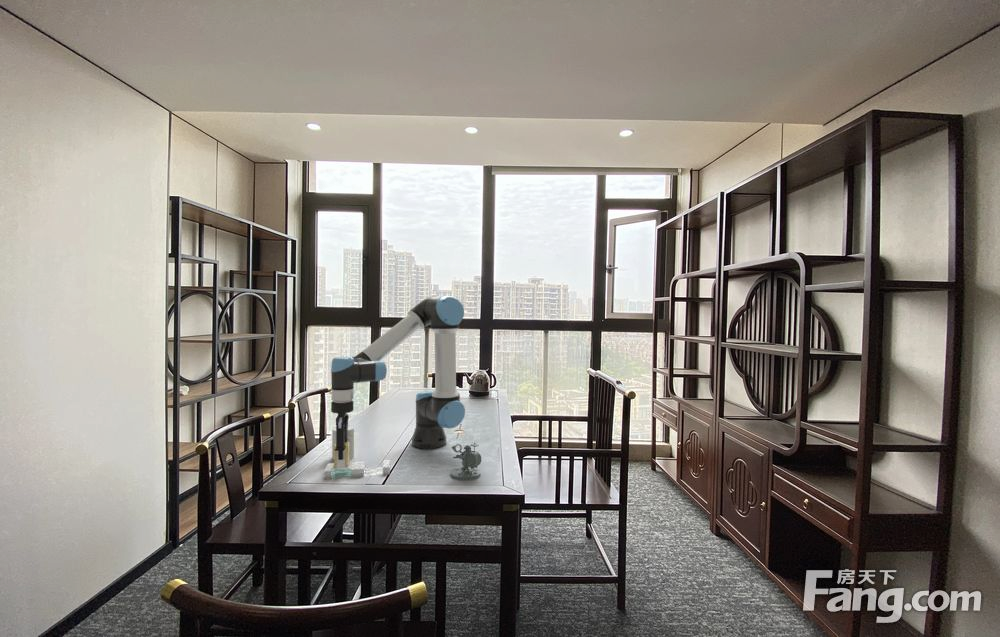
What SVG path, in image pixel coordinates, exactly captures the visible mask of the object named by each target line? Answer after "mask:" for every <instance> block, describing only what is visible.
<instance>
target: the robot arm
mask: <svg viewBox="0 0 1000 637" xmlns="http://www.w3.org/2000/svg"><path fill="white" fill-rule="evenodd" d="M464 318H465V309H464V304H463V303H462V302H461V300H459V299H458V298H457V297H454V296H451V295H438V296H437V295H433V296H432V295H431V296H429V297H426V298H424V299H423V300H422V301H420V302H419V303H417V304H416V305H415V306H414V307H412V308H411V309H410V310H408V312H407V315H406V316H405V317H404V318H402V319H401V320H400V321H399V322H398V323H396V324H395V325H393V326H392V327H390V329H388V330H387V331H386V332H385V333H384V334H382V335H381V336H379V337H378V338H377V339H375V340H374V341H373V342H372V343H371V344H370V345H368V346H367V347H366V348H365V349H363V350H362V351H361V352H359V353H358V354H357V355H355V356H336V357H334V358H333V359H332V360H331V367H330V368H331V369H330V376H331V383H330V384H331V391H329V395H331V402H330V412H331V413H332V414H337V416H336V418H335V427H336V449H335V451H337V469H346V468H345V442H347V441H348V426H349V413H353V411H354V399H355V398H354V394H355V392H354V391H355V389H354V387H355V384H358V383H369V382H370V383H371V382H378V381H379V382H380V381H384V380H385V379H386V377H387V365H386V363H385V361H383V359H384V358H385V357H387V356H388V355H389V354H390V353H392V352H393V351H394V350H395V349H397V348H398V347H399V346H400V345H401V344H403V343H404V342H405V341H406V340H407V339H409V338H410V337H411V336H413V335H414V334H415V333H416V332H417V331H419V330H424V329H425V328H426V327H428V326H429V325H430V330H431V331H432V332H433V333H434V373H435V374H434V378H435V379H434V380H435V382H434V384H435V385H434V386H435V387H434V388H435V390H429V391H427V390H426V391H420V392H418V393H417V394H416V397H415V429H414V432H413V435H412V437H411V446H413V447H414V448H418V449H425V450H426V449H429V450H430V449H436V448H437V449H438V448H441V447H444V446H445V445H447V435H446V433H445V428H446V429H455V428H457V427H458V426H459V425H461V423H462V422H463V420H464V419H465V416H466V407H465V405H464V404H463V403H462V402H461V396H460V395H461V394H460V392H459V391H458V390H457V359H456V357H457V356H456V355H457V346H456V345H457V344H456V343H457V342H456V340H457V339H456V336H457V332H458V331H459V329H460V323H461V322H462V320H463V319H464Z"/></svg>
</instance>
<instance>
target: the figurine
mask: <svg viewBox="0 0 1000 637" xmlns="http://www.w3.org/2000/svg"><path fill="white" fill-rule="evenodd" d="M457 446H459V447H460V449H459V450H457V448H456V447H457ZM479 446H480V445H479V444H478V443H476V442H474V443H471V444H470V445H468V444H467V445H464V447H462V444H459V443H457V444H455V445H452V446H451V447H450V448H451V449H452V450H453V451H454V452H455V453H457V454H456V455H455V456H453V457H452V458H453V459H459V460H461V465H462V466H461V467H455V468H454V469H452V470H451V472H450V476H451V478H452V479H454V480H457V481H473V480H476V479H479V478H480V477H481V470H480V469H479V468H478V466H479V465H481V463H482V456H481V454H480V453H479V452H478V451H476V450H475V449H476V447H479ZM472 447H473V450H472ZM462 450H463V451H462ZM458 453H460V454H458Z"/></svg>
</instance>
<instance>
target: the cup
mask: <svg viewBox="0 0 1000 637" xmlns="http://www.w3.org/2000/svg"><path fill="white" fill-rule="evenodd" d="M331 430H332V431H331V436H332V438H331V440H332V441H331V442H332V444H331V448H332V449H331V459H332V460H333V461H334V446H335V444H336V426H334V427H333V428H332V429H331ZM347 442H349V461H350V460H352V459H354V458H355V427H354V426H353V425H348V441H347Z"/></svg>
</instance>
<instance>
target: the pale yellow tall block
mask: <svg viewBox="0 0 1000 637" xmlns="http://www.w3.org/2000/svg"><path fill="white" fill-rule="evenodd" d="M335 449H336V444H335V446H334V460H333V461H334V462H333V463H334V470H335V469H337V451H335ZM349 465H350V460H349V442H345V468H344V469H349Z"/></svg>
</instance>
